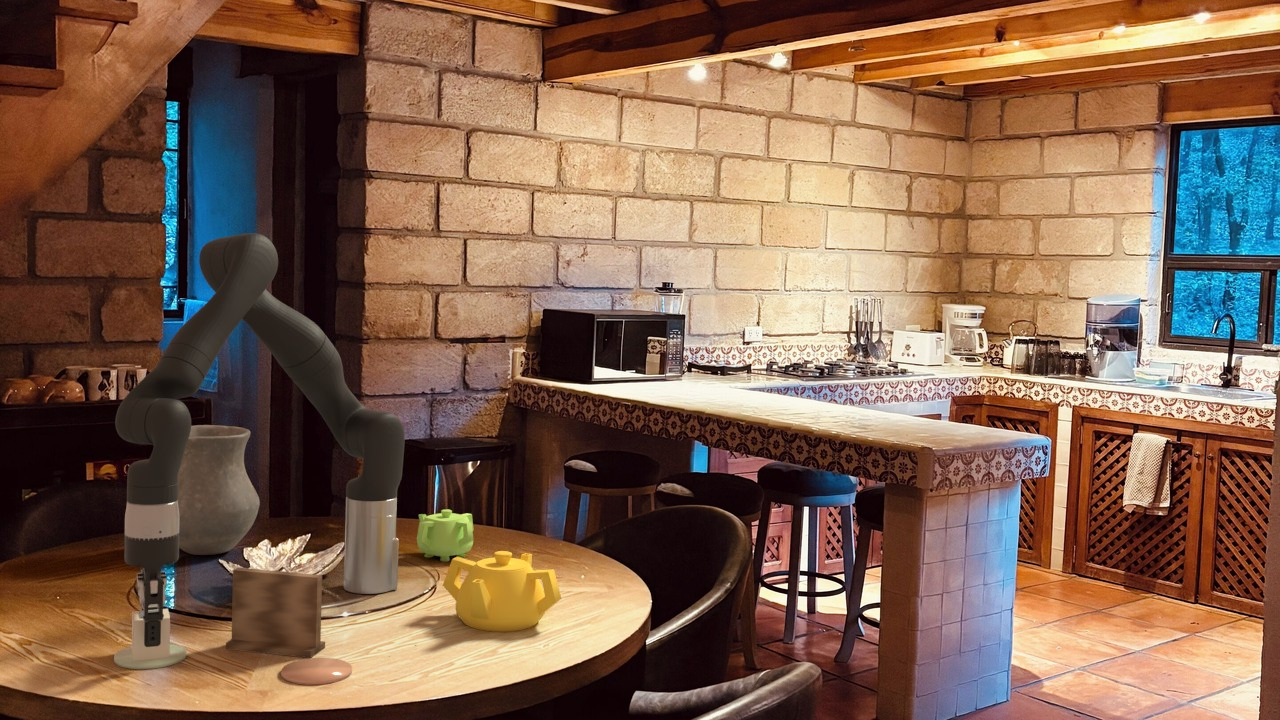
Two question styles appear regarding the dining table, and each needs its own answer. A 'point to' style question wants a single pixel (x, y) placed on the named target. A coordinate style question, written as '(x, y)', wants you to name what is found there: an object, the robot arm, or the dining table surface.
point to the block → (138, 637)
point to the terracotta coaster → (316, 671)
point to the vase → (215, 490)
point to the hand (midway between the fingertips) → (150, 637)
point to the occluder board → (276, 612)
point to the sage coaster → (126, 659)
